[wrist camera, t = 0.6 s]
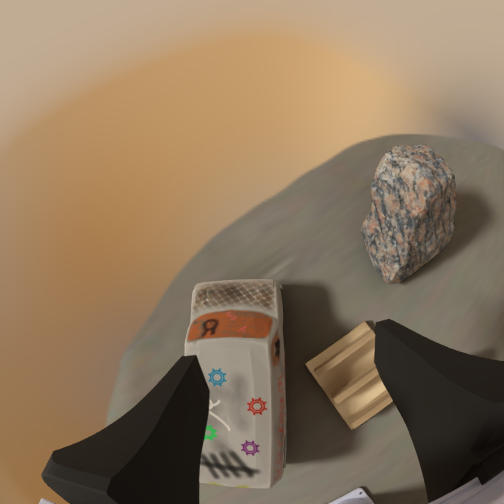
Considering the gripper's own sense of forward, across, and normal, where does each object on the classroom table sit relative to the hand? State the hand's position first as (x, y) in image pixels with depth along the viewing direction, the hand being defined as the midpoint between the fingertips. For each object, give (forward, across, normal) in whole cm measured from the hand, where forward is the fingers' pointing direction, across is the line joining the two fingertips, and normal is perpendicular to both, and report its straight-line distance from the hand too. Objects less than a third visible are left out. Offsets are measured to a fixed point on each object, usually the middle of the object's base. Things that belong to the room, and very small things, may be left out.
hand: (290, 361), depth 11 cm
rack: (+17, -9, +19) cm, 27 cm away
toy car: (+19, +5, +18) cm, 27 cm away
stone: (+26, -18, +5) cm, 32 cm away
